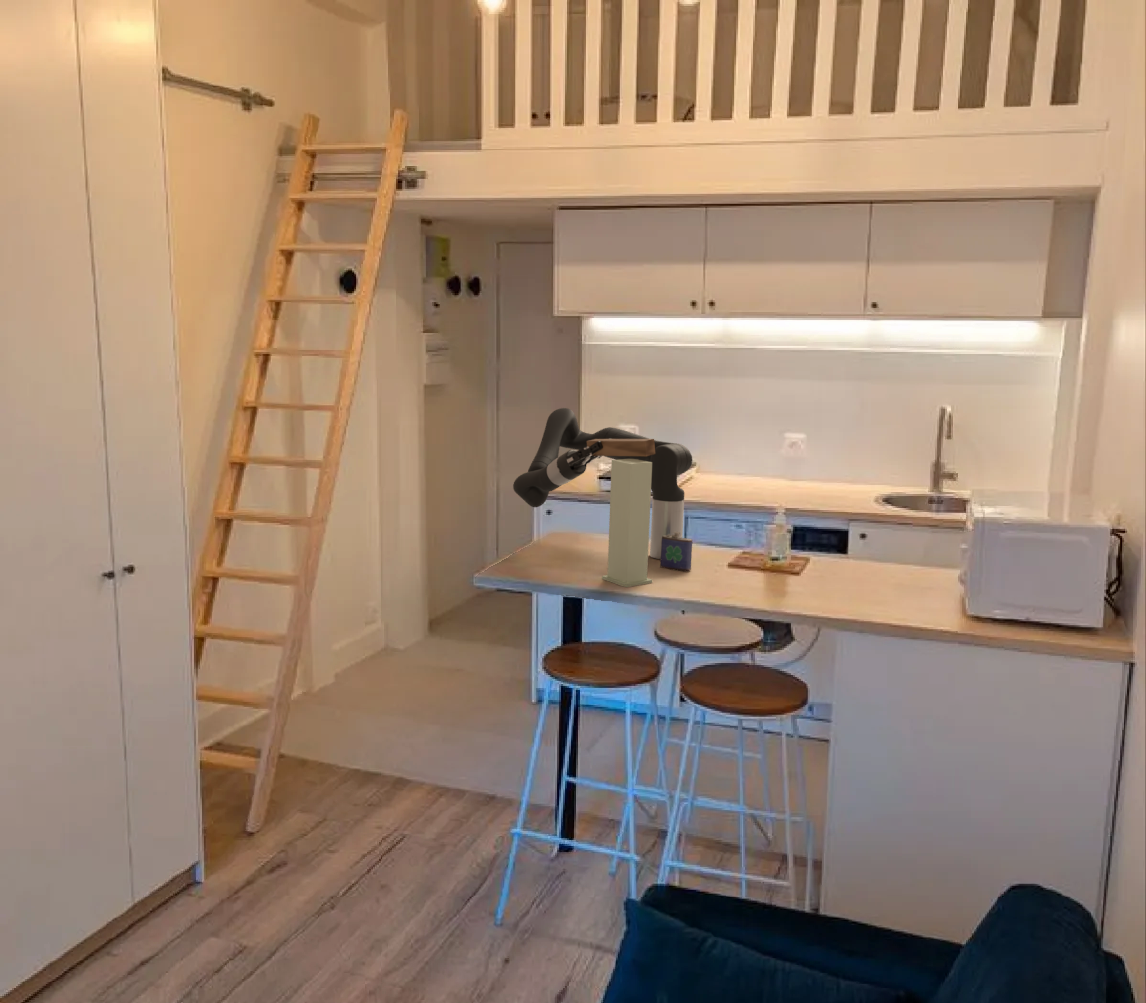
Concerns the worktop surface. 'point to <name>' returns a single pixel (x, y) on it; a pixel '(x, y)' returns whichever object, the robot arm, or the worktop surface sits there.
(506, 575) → the worktop surface
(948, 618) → the worktop surface
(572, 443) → the robot arm
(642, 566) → the stand
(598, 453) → the rail
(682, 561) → the flask
